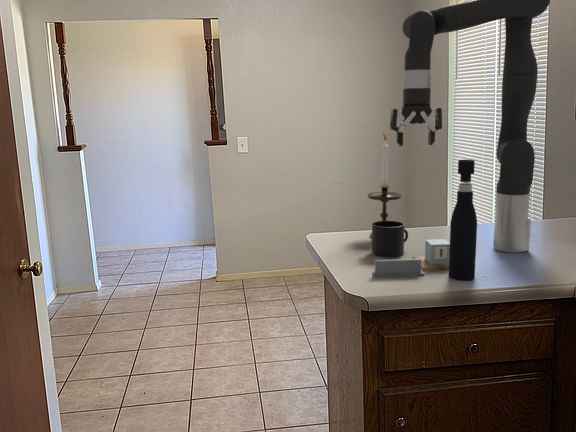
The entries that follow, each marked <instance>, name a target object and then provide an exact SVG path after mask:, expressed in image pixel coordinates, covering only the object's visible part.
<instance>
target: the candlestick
mask: <svg viewBox="0 0 576 432" xmlns="http://www.w3.org/2000/svg"><path fill="white" fill-rule="evenodd" d="M382 135H383V139H384V141H383V142H384V143H383V144H382V147H381V148H382V150H381V151H382V153H381V155H382V156H381V157H382V161H381V185H378V188H381V191H374V192H373V191H372V192H369V193H368V194H367V198H368V199H369V200H372V201H373V200H374V201H379V202H381V203H382V205H381V206H382V209H381V210H382V212H381V213H380V214H379V216H380V218H381V221H388V220H387V218H388V217H389V215H390V214H389V213H388V212H387V203H388V202H390V201H396V200H401V199H402V193H400V192H396V191H395V192H393V191H389V188H391V185H389V183H388V181H389V145H388V143H387V136H386V134H385V131H382ZM369 236H370V238H371V239H372V232H371V233H370V235H369Z"/></svg>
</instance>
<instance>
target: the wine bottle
mask: <svg viewBox="0 0 576 432" xmlns="http://www.w3.org/2000/svg"><path fill="white" fill-rule="evenodd" d="M475 162H476V161H475V160H474V159H459V160H458V161H457V163H458V164H457V174H459V175H460V179H459V182H460V183H458V190H457V191H456V203H455V206H454V208H453V211H452V214H451V218H450V225H449V226H450V231H449V243H450V251H449V270H448V277H449V278H450V279H451V280H455V281H461V282H465V281H466V282H467V281H472V280H474V279H475V276H476V258H477V257H476V256H477V255H476V254H477V234H478V233H477V231H478V218H477V213H476V209H475V206H474V202H473V201H474V199H473V198H474V191H473V183H471V182H472V175H474V174H475V164H476V163H475Z"/></svg>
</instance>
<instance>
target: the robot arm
mask: <svg viewBox="0 0 576 432" xmlns="http://www.w3.org/2000/svg"><path fill="white" fill-rule="evenodd" d="M550 2H551V0H469V1H463V2H458V3H454V4H450V5H446V6H442V7H440V8H438V9H433V10H428V11H427V10H424V9H423V10H422V9H421V10H417V11H415V12H413V13H412V14H410V15H408V16H407V17H406V18H405V19H404V21H403V23H402V33H403V34H404V36H405V37H406V38H408V39H409V41H408V48H407V50H406V52H405V54H404V72H403V73H404V74H403V80H402V82H403V83H402V84H403V87H402V88H403V90H402V92H403V93H402V108H399V109H397V108H392V109H391V113H390V124H389V129H390V130H391V131H395V132H396V144H398V146H400V147H403V145H404V132H403V131H404V130H405V128H406V127H407V126H408V125H409V124H411V125H414V124H419V125H420V124H422V125H423V124H424V125H425V127H427V129H428V137H427V139H428V141H427V145H428V146H433V145H434V144H435V142H436V132H437V131H438V130H441V129H443V114H442V112H443V110H442V107H435V108H432V106H431V94H432V93H431V92H432V91H431V90H432V75H431V74H432V73H431V64H432V62H431V59H432V57H431V53H432V49H433V46H434V45H433V44H434V38H435V36H436V35H439V34H445V33H446V34H447V33H451V32H457V31H462V30H466V29H469V28H470V29H471V28H473V27H477V26H478V27H479V26H480V25H484V24H487V23H490V22H491V23H492V22H495V21H497V20H499V21H500V20H502V19H503V20H504V25H505V26H504V28H505V43H504V44H505V46H504V55H503V56H504V58H503V60H504V61H503V69H502V70H503V71H502V83H501V123H500V124H501V125H500V130H499V134H498V135H499V136H498V142H497V147H496V159H497V161H498V162H499V164H500V165H499V166H500V169H499V178H498V182H497V184H496V192H495V193H496V194H495V209H494V210H495V213H494V231H493V244H492V245H493V250H496V251H498V252H502V253H504V252H505V253H512V254H513V253H523V252H527V251H528V252H529V251H530V240H531V239H530V236H531V226H532V225H531V224H532V220H531V219H530V218H529V209H530V195H531V194H530V193H531V186H532V184H533V181H534V173H535V171H534V170H535V159H536V158H535V157H536V156H535V154H536V153H535V149H534V146H533V145H532V144H531V142H529V141H528V120H529V117H530V116H529V115H530V113H531V110H532V107H533V103H534V101H535V96H536V93H537V88H538V87H537V86H538V85H537V84H538V74H539V73H538V71H539V70H538V69H539V68H538V62H537V58H536V54H535V52H534V48H533V46H532V37H531V36H532V24H533V19H534V18H537V17H539V16H541V15H542V14H543V13H544V12H545V11H546V10H547V9H548V7H549V6H550ZM431 114H432V115H433V116H434V122H435V125H434V124H433V122H432V121H431V119H430V118H429V116H430V115H431ZM400 115H402V116H403V119H402V120H401V122H400V123H399V125H398V126H397V123H398V122H397V121H398V117H399V116H400Z"/></svg>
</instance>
